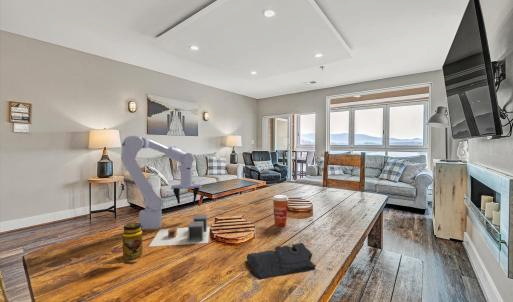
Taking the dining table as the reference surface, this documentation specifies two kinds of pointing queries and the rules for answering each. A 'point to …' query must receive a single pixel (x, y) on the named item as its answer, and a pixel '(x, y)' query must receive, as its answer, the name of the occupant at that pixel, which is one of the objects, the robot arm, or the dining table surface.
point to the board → (178, 238)
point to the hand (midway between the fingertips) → (186, 202)
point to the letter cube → (172, 232)
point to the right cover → (201, 219)
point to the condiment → (132, 242)
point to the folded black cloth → (281, 261)
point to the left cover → (196, 229)
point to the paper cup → (280, 210)
